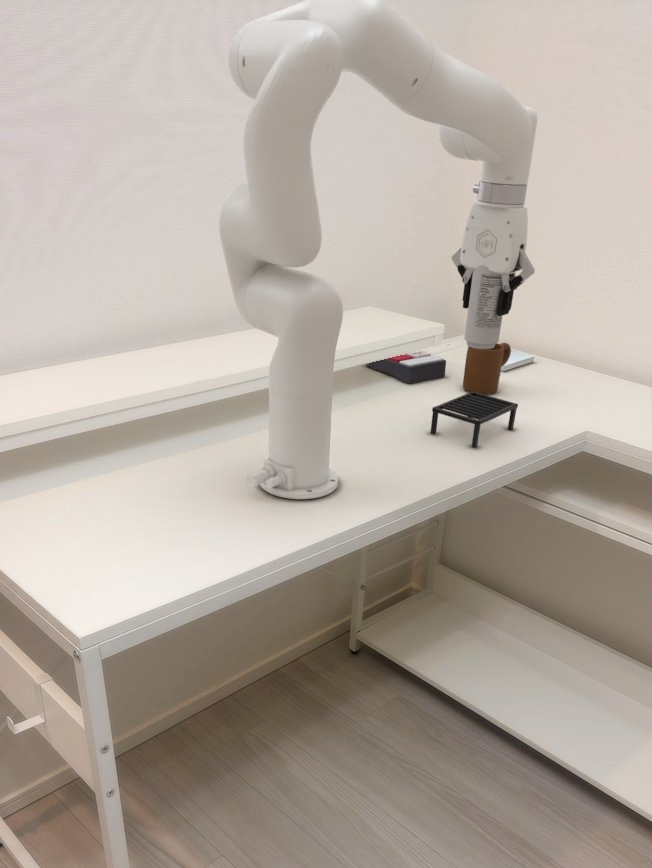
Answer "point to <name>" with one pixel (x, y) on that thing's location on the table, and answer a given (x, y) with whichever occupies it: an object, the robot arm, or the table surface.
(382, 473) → the table surface
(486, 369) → the mug
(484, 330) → the energy drink can
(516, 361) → the hard drive
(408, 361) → the calculator
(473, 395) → the rack
